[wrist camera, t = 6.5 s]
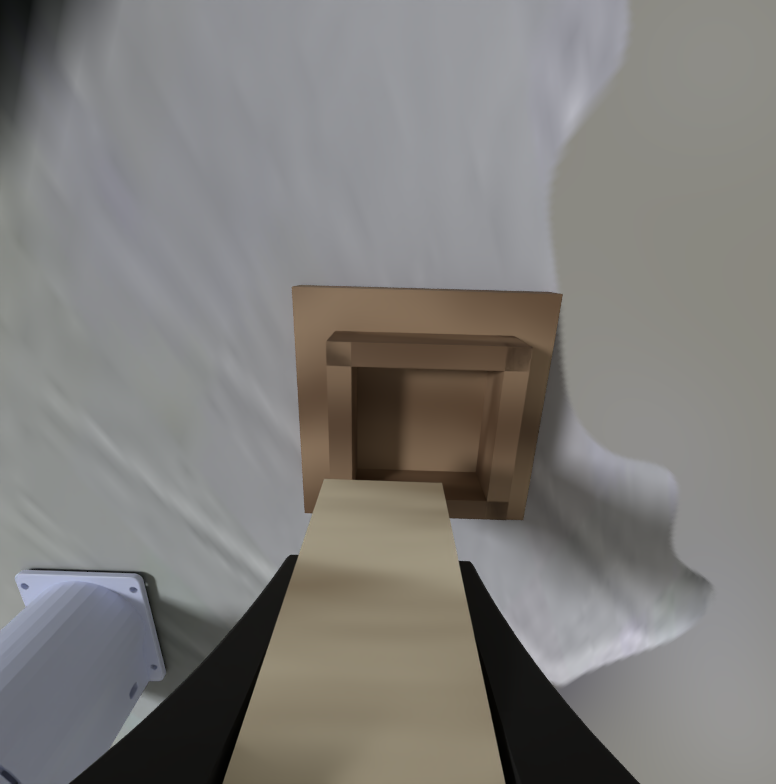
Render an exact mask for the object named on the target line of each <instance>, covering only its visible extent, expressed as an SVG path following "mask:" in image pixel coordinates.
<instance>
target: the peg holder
mask: <svg viewBox="0 0 776 784" xmlns="http://www.w3.org/2000/svg"><path fill="white" fill-rule="evenodd" d="M562 296H563V294H558V293H552V292H531V291H495V290H459V289H423V288H387V287H351V286H314V285H298V286H293V287H292V299H293V316H294V334H295V351H296V368H297V386H298V403H299V421H300V438H301V455H302V473H303V490H304V508H305V513H313V511H314V508H315V505H316V502H317V499H318V496H319V493H320V490H321V487H322V484H323V481H324V479H340V480H369V481H398V482H427V483H442V485H443V490H444V495H445V500H446V504H447V509H448V514H449V518H459V519H490V520H523V518H524V512H525V507H526V501H527V495H528V490H529V484H530V478H531V473H532V467H533V461H534V455H535V450H536V444H537V438H538V433H539V427H540V421H541V415H542V410H543V404H544V398H545V393H546V387H547V381H548V375H549V370H550V364H551V358H552V353H553V347H554V341H555V336H556V330H557V324H558V318H559V313H560V307H561V301H562Z"/></svg>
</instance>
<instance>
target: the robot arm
mask: <svg viewBox="0 0 776 784" xmlns="http://www.w3.org/2000/svg"><path fill="white" fill-rule="evenodd" d="M298 556H299V555H289V556H288V557H287V558H286V560H285V561H284V563H283V564H282V565H281V567H280V568H279V570H278V571H277V573H276V574H275V575H274V577H273V578H272V579H271V581H270V582H269V584H268V585H267V586H266V588H265V589H264V590H263V591H262V593H261V594H260V595H259V597H258V598H257V599H256V600H255V602H254V603H253V604H252V605H251V607H250V608H249V609H248V611H247V612H246V613H245V614H244V616H243V617H242V618H241V619H240V620H239V622H238V623H237V624H236V625H235V626H234V627H233V629H232V630H231V631H230V632H229V633H228V634H227V635H226V637H225V638H224V639H223V640H222V641H221V642H220V643H219V645H218V646H217V647H216V648H215V649H214V650H213V651H212V652H211V654H210V655H209V656H208V657H207V658H206V659H205V660H204V661H203V662H202V663H201V664H200V665H199V666H198V667H197V668H196V670H195V671H194V672H193V673H192V674H191V675H190V676H189V677H188V678H187V679H186V680H185V681H184V682H183V683H182V684H181V685H180V686H179V687H178V688H177V689H176V690H175V691H174V692H173V693H172V694H170V695H169V696H168V697H167V698H166V699H165V700H164V701H163V702H162V703H161V704H160V705H159V706H158V707H157V708H156V709H155V710H154V711H152V712H151V713H150V714H149V715H148V716H147V717H146V718H145V719H144V720H143V721H142V722H141V723H139V724H138V725H137V726H136V727H135V728H134V729H133V730H132V731H130V732H129V733H128V734H127V735H126V736H125V737H124V738H122V739H121V740H120V741H119V742H118V743H117V744H115V745H114V746H113V747H112V748H111V749H109V748H110V746H111V745H112V743H113V741H114V740H115V738H116V736H117V735H118V733H119V731H120V730H121V728H122V726H123V724H124V723H125V721H126V719H127V718H128V716H129V714H130V713H131V711H132V709H133V707H134V706H135V704H136V702H137V701H138V699H139V697H140V696H141V694H142V692H143V691H144V689H145V687H146V685H147V684H148V682H149V681H161V680H163V678H164V676H165V675H166V670H165V666H164V662H163V658H162V654H161V649H160V645H159V641H158V637H157V633H156V629H155V625H154V621H153V617H152V613H151V609H150V605H149V601H148V597H147V593H146V588H145V584H144V580H143V578H142V577H141V576H140V575H139V574H135V573H105V572H75V571H45V570H22V571H20V572H19V573H18V574H17V575H16V576H15V581H16V583H17V586H18V588H19V591H20V593H21V596H22V598H23V601H24V603H25V606H26V607H25V608H24V609H23V610H22V611H21V612H20V613H19V614H18V615H17V616H16V617H14V618H13V619H12V620H11V621H10V622H9V623H8V624H7V625H6V626H5V627H4V628H3V629H1V630H0V784H223V781H224V778H225V775H226V772H227V769H228V766H229V763H230V760H231V757H232V754H233V751H234V748H235V745H236V742H237V739H238V736H239V733H240V730H241V727H242V724H243V721H244V718H245V715H246V712H247V709H248V706H249V703H250V700H251V697H252V694H253V691H254V688H255V685H256V682H257V679H258V676H259V673H260V670H261V667H262V664H263V661H264V658H265V655H266V652H267V649H268V646H269V643H270V640H271V637H272V634H273V631H274V628H275V625H276V622H277V619H278V616H279V613H280V610H281V607H282V604H283V601H284V598H285V595H286V592H287V589H288V586H289V583H290V580H291V577H292V574H293V571H294V568H295V565H296V562H297V559H298ZM459 566H460V571H461V576H462V580H463V585H464V590H465V595H466V599H467V604H468V609H469V614H470V618H471V623H472V628H473V632H474V637H475V642H476V647H477V651H478V656H479V661H480V666H481V670H482V675H483V680H484V685H485V689H486V694H487V699H488V704H489V708H490V713H491V718H492V723H493V727H494V732H495V737H496V742H497V746H498V751H499V756H500V761H501V765H502V770H503V775H504V779H505V784H640V783H639V782H638V781H637V780H636V779H635V778H634V777H633V776H632V775H631V774H630V773H629V772H628V771H627V770H626V769H625V767H624V766H623V765H622V764H621V763H620V762H619V761H618V760H617V759H616V758H615V757H614V756H613V755H612V754H611V752H610V751H609V750H608V749H607V748H606V747H605V746H604V745H603V744H602V743H601V742H600V741H599V740H598V738H596V736H595V735H594V734H593V733H592V732H591V731H590V730H589V728H588V727H587V726H586V725H585V724H584V723H583V721H582V720H581V719H580V718H579V717H578V716H577V715H576V713H575V712H574V711H573V710H572V709H571V708H570V706H569V705H568V704H567V703H566V702H565V700H564V699H563V698H562V697H561V695H560V694H559V693H558V692H557V690H556V689H555V688H554V687H553V685H552V684H551V683H550V682H549V680H548V679H547V678H546V676H545V675H544V674H543V673H542V671H541V670H540V669H539V667H538V666H537V665H536V663H535V662H534V660H533V659H532V658H531V656H530V655H529V654H528V652H527V651H526V649H525V648H524V647H523V645H522V644H521V642H520V641H519V639H518V638H517V637H516V635H515V634H514V632H513V631H512V629H511V628H510V626H509V625H508V623H507V621H506V620H505V618H504V617H503V615H502V614H501V612H500V611H499V609H498V608H497V606H496V604H495V603H494V601H493V599H492V598H491V596H490V594H489V593H488V591H487V589H486V588H485V586H484V584H483V582H482V581H481V579H480V577H479V575H478V573H477V571H476V569H475V568H474V566H473V564H472V563H471V562H470V561H459Z"/></svg>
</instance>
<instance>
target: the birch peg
mask: <svg viewBox="0 0 776 784" xmlns="http://www.w3.org/2000/svg"><path fill="white" fill-rule="evenodd" d="M223 784H505V779H504V775H503V770H502V765H501V761H500V756H499V751H498V746H497V742H496V737H495V732H494V727H493V723H492V718H491V713H490V708H489V704H488V699H487V694H486V689H485V685H484V680H483V675H482V670H481V666H480V661H479V656H478V651H477V647H476V642H475V637H474V632H473V628H472V623H471V618H470V614H469V609H468V604H467V599H466V595H465V590H464V585H463V580H462V576H461V571H460V566H459V561H458V557H457V552H456V547H455V542H454V538H453V533H452V528H451V523H450V519H449V514H448V509H447V504H446V500H445V495H444V490H443V485H442V483H427V482H398V481H369V480H340V479H324V481H323V484H322V487H321V490H320V493H319V496H318V499H317V502H316V505H315V508H314V511H313V514H312V517H311V520H310V523H309V526H308V529H307V532H306V535H305V538H304V541H303V544H302V547H301V550H300V553H299V556H298V559H297V562H296V565H295V568H294V571H293V574H292V577H291V580H290V583H289V586H288V589H287V592H286V595H285V598H284V601H283V604H282V607H281V610H280V613H279V616H278V619H277V622H276V625H275V628H274V631H273V634H272V637H271V640H270V643H269V646H268V649H267V652H266V655H265V658H264V661H263V664H262V667H261V670H260V673H259V676H258V679H257V682H256V685H255V688H254V691H253V694H252V697H251V700H250V703H249V706H248V709H247V712H246V715H245V718H244V721H243V724H242V727H241V730H240V733H239V736H238V739H237V742H236V745H235V748H234V751H233V754H232V757H231V760H230V763H229V766H228V769H227V772H226V775H225V778H224V781H223Z"/></svg>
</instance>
